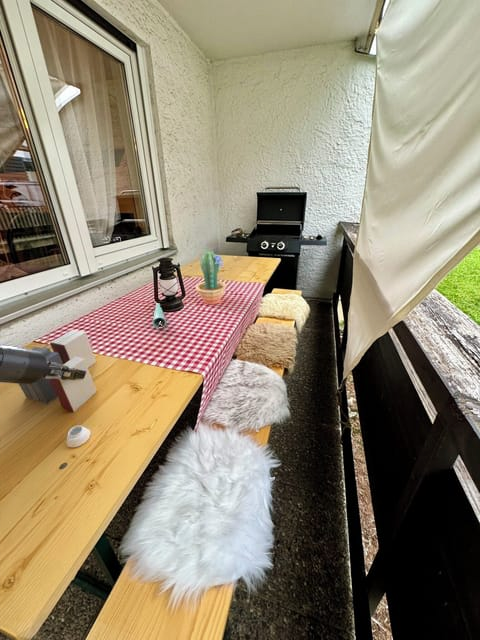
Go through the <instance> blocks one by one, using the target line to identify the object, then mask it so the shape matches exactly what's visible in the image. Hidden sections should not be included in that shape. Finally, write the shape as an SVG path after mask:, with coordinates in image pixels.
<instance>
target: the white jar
mask: <svg viewBox="0 0 480 640" xmlns="http://www.w3.org/2000/svg"><path fill="white" fill-rule="evenodd" d="M91 435H92V433H91V430H90V429H89V428H88V427H85V426H82V425H81V424H79V425H74V426H73V427H71V428H70V429H69V430H68V432H67V436H66V439H65V444H66V445H67V446H68V448H78V447H79V446H82V445H84V444H85V443H86V442H87V441H88V440H89V439H90V438H91Z"/></svg>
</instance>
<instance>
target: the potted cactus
mask: <svg viewBox="0 0 480 640" xmlns="http://www.w3.org/2000/svg"><path fill="white" fill-rule="evenodd" d="M199 263H200V269H201V271H202V274H203V279H204V281H203V282H200V283H198V284H196V286H195V290H196V292H197V293H198V294H199V296H200V298H201V299H202V300H203V301H202V302H203V303H204V304H206V305H217V304H220V303H221V301H222V297H223V296H224V293H225V291H226V288H227V284H226V283H225V282H223V281H218V275H219V272H220V269H221V268H222V267H223V265H224V264H223V263H224V262H223V258H222V257H221V256H220V255H218V254H217V253H214V251H209V250H207V251H204V252H203V254H202V256H201V257H200V260H199Z"/></svg>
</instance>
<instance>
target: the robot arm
mask: <svg viewBox="0 0 480 640" xmlns="http://www.w3.org/2000/svg"><path fill="white" fill-rule="evenodd" d="M61 367H62V368H61ZM85 375H86V371H83V370H78V369H75V368H73V369H72V368H69V367H68V366H66V365H61V364H57V363H55V362H50V361H47V360H46V357H45V355H44V354H43V353H42V352H39V351H35V350H31V349H28V348H24V347H20V346H13V345H8V344H0V383H4V384H17V385H19V384H32V383H34V382H36V381H38V380H39V379H40V378H41V377H42V378H46V379H52V378H54V379H62V380H76V379H84V377H85Z"/></svg>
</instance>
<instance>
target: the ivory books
mask: <svg viewBox="0 0 480 640" xmlns="http://www.w3.org/2000/svg"><path fill="white" fill-rule="evenodd" d="M49 344H50V347H51V349H52V352H56V353H59V355H60V358H61V360H62V362H63V365H64V364H65V363H66V362H68V361H69V360H71V359H72V358H74V357H79V358H84V359H85V361H86V364H87V367H88V369H89V368H91V367H92V366H93V365H94V364H96V363H97V358H96V357H95V353H94V351H93V348H92V344H91V342H90V339H89V336H88V334H87V331H84V330H78V329H71V330H70V331H68V332H66V333H64V334H63V335H61V336H59V337H58V338H56V339H54V340H51V341H50V342H49Z"/></svg>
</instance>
